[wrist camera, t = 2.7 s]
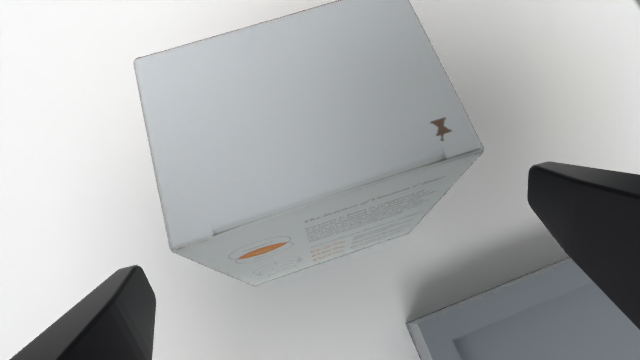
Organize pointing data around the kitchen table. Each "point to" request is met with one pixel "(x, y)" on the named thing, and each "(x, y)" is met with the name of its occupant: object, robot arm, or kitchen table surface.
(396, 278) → the kitchen table surface
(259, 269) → the small box
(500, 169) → the kitchen table surface
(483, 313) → the tray
